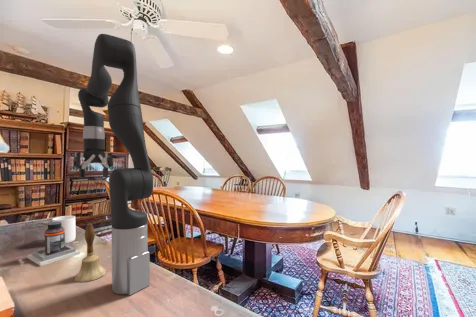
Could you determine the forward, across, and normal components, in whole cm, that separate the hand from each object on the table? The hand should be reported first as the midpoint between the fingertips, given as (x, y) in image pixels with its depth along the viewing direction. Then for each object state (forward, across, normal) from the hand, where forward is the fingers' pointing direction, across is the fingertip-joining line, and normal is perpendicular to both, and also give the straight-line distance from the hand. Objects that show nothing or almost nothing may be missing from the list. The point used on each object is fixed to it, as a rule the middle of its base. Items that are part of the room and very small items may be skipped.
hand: (94, 177), depth 98 cm
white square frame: (+28, -13, +3) cm, 31 cm away
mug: (+28, -4, +20) cm, 35 cm away
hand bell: (+28, -13, -24) cm, 39 cm away
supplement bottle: (+27, -13, +3) cm, 30 cm away
